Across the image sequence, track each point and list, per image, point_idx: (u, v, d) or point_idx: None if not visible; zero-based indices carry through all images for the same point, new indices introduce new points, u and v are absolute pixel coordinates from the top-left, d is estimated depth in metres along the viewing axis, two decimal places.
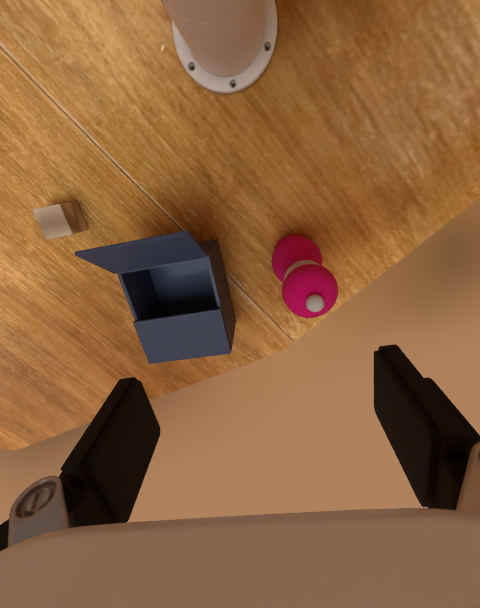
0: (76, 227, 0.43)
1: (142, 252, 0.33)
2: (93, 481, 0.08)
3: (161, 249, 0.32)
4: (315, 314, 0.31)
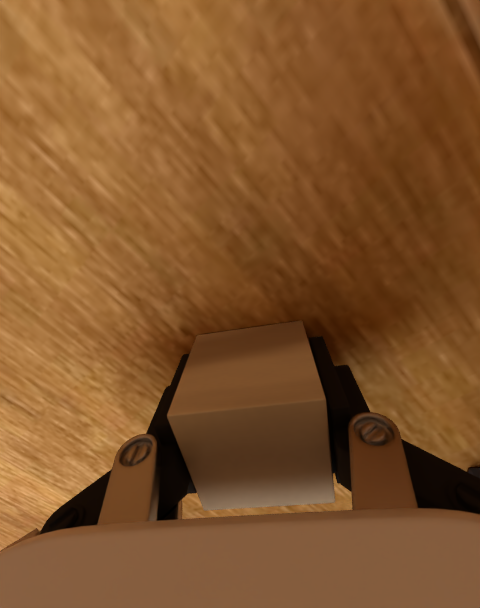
0: None
1: None
2: None
3: None
4: None
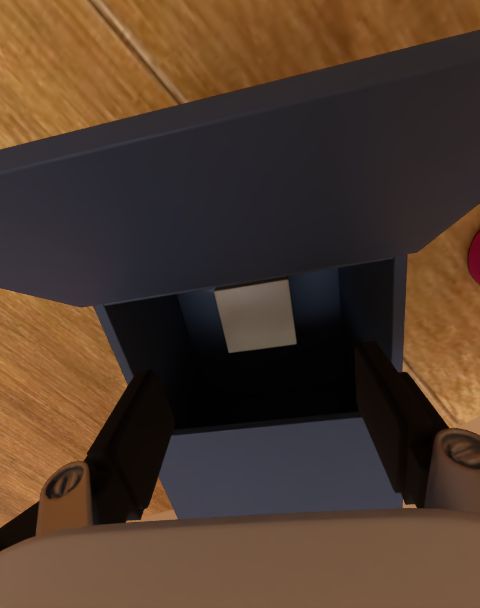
0: None
1: (205, 222, 0.06)
2: (117, 466, 0.08)
3: (311, 205, 0.06)
4: None
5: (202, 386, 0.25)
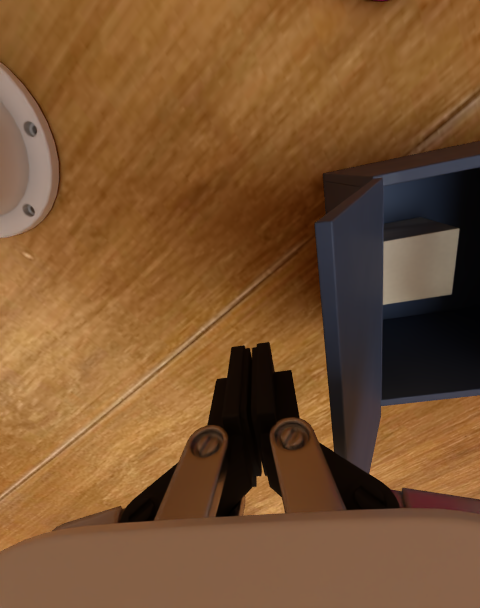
0: (431, 225, 0.19)
1: (361, 382, 0.10)
2: (246, 431, 0.09)
3: (361, 327, 0.09)
4: None
5: None
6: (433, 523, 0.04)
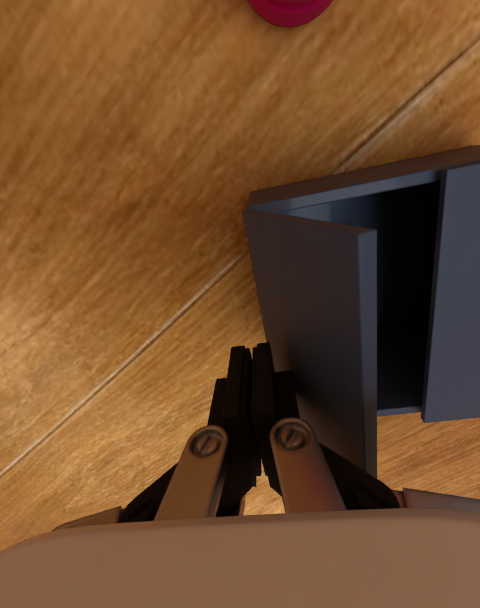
0: None
1: None
2: (245, 431, 0.09)
3: None
4: None
5: (424, 322, 0.23)
6: (433, 523, 0.04)
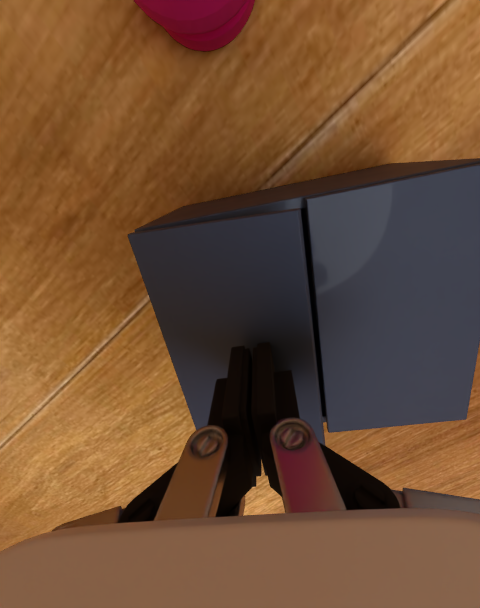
0: None
1: None
2: (245, 431, 0.09)
3: None
4: None
5: None
6: (433, 523, 0.04)
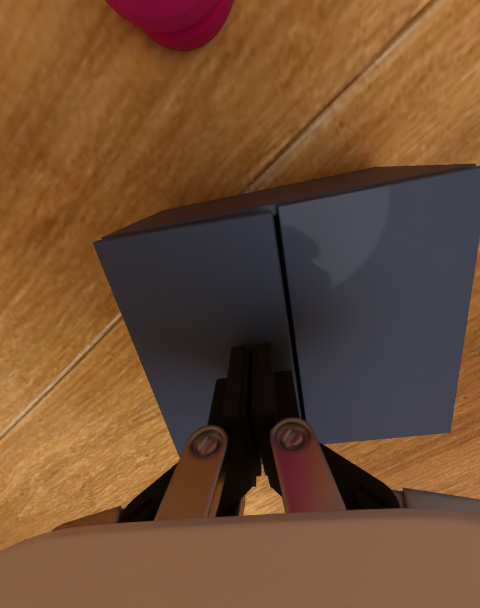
0: None
1: None
2: (245, 431, 0.09)
3: None
4: None
5: None
6: (433, 523, 0.04)
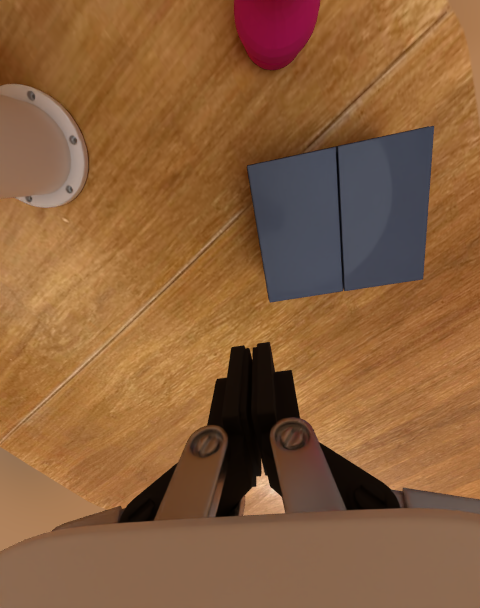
0: None
1: None
2: (245, 431, 0.09)
3: None
4: None
5: None
6: (433, 523, 0.04)
